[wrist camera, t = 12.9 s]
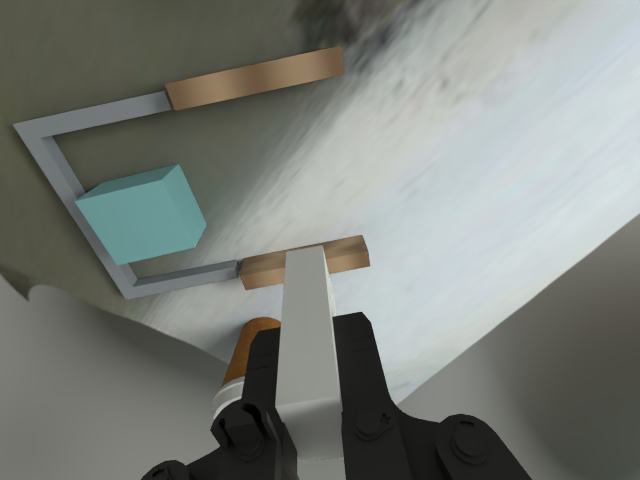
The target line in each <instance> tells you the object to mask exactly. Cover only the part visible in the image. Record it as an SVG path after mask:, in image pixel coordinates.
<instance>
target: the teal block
mask: <svg viewBox="0 0 640 480" xmlns="http://www.w3.org/2000/svg"><path fill="white" fill-rule="evenodd" d="M74 202H75V203H76V205H77V206H78V208H79V209H80V211H81V212H82V214H83V215H84V217H85V218H86V220H87V221H88V223H89V224H90V226H91V227H92V229H93V230H94V232H95V233H96V235H97V236H98V238H99V239H100V241H101V242H102V244H103V245H104V246H105V248H106V249H107V251H108V252H109V254H110V255H111V257H112V258H113V260H114V261H115V263H116V264H117V266H118V265H122V264H126V263H130V262H135V261H139V260H143V259H148V258H152V257H156V256H160V255H165V254H169V253H173V252H178V251H182V250H186V249H190V248H195V247H196V245H197V243H198V241H199V239H200V237H201V235H202V233H203V231H204V229H205V227H206V225H207V224H206V222H205V219H204V217H203V215H202V213H201V211H200V208H199V206H198V204H197V202H196V200H195V198H194V195H193V193H192V191H191V189H190V187H189V185H188V182H187V180H186V178H185V176H184V174H183V171H182V169H181V167H180V165H179V164H175V165H171V166H167V167H163V168H159V169H155V170H151V171H147V172H143V173H139V174H135V175H131V176H127V177H123V178H118V179H114V180H110V181H106V182H103V183H101V184H100V185H98V186H97V187H95V188H94V189H92V190H91V191H89V192H88V193H86V194H85V195H83V196H82V197H80V198H79V199H77V200H76V201H74Z"/></svg>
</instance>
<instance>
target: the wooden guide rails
mask: <svg viewBox="0 0 640 480" xmlns="http://www.w3.org/2000/svg"><path fill="white" fill-rule="evenodd" d="M344 74H345V72H344V64H343V57H342V49H341V46H336V47H331V48H327V49H322V50H318V51H313V52H308V53H304V54H299V55H295V56H290V57H286V58H281V59H276V60H272V61H267V62H263V63H258V64H254V65H249V66H244V67H240V68H235V69H231V70H226V71H222V72H217V73H212V74H208V75H203V76H199V77H194V78H189V79H185V80H180V81H176V82H172V83H167V84H165V86H166V89H167V91H168V94H169V96H170V99H171V101H172V104H173V106H174V109H175V111H177V110H182V109H186V108H191V107H196V106H200V105H205V104H210V103H214V102H219V101H223V100H228V99H233V98H237V97H242V96H247V95H251V94H256V93H261V92H265V91H270V90H275V89H279V88H284V87H289V86H293V85H298V84H302V83H307V82H312V81H316V80H321V79H326V78H330V77H335V76H340V75H344ZM320 245H323V250H324V254H325V259H326V263H327V268H328V272H329V274H332V273H338V272H343V271H348V270H353V269H358V268H363V267H369V266H370V261H369V253H368V249H367V246H366V244H365V241H364V238H363V236H362V235H360V236H355V237H350V238H345V239H340V240H334V241H329V242H324V243H319V244H314V245H309V246H304V247H299V248H294V249H289V250H284V251H279V252H274V253H269V254H264V255H258V256H253V257H248V258H244V262H243V266H242V270H241V274H240V277H241V280H242V282H243V285H244V287H245V290H250V289H255V288H260V287H265V286H270V285H276V284H281V283H284V277H285V263H286V252H289V251H294V250H299V249H305V248H310V247H315V246H320Z"/></svg>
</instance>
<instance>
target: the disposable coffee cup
mask: <svg viewBox="0 0 640 480" xmlns="http://www.w3.org/2000/svg"><path fill="white" fill-rule="evenodd" d="M278 327H281V322H280V321H278V320H275V319H272V318H257V319H253V320H251V321H249V322H248V323H247V324H246V325H245V326H244V327H243V329H242V332H241V335H240V337H239V340H238V343H237V346H236V348H235V351H234V354H233V356H232V359H231V362H230V365H229V367H228V370H227V373H226V376H225V378H224V381H223V384H222V387H221V389H220V390H219V392H218V393H217V395H216V396H215V397H214V399H213V402H212V413H213V415H214V419H215V418H216V417H217V415H218V414H219V413H220V412H221V410H222V409H223V408H225V407H226V406H227V405H229V404H230V403H231V402H233V401H236V400H239V399H241V396H242V390H243V385H244V379H245V373H246V367H247V361H248V355H249V349H250V344H251V342H252V341H253V339H254V337H255V336H256V334H257V332H258V331H261V330H266V329H272V328H278Z"/></svg>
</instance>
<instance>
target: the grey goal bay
mask: <svg viewBox="0 0 640 480" xmlns="http://www.w3.org/2000/svg"><path fill="white" fill-rule="evenodd" d="M172 109H174V106H173V104H172V101H171V99H170V96H169V94H168V91H167V90H165V91H161V92H156V93H151V94H147V95H142V96H138V97H133V98H128V99H124V100H119V101H115V102H110V103H105V104H101V105H96V106H92V107H87V108H82V109H78V110H73V111H69V112H64V113H60V114H55V115H50V116H46V117H41V118H37V119H32V120H27V121H23V122H19V123H15V124H13V126H14V128H15V129H16V131H17V132H18V134H19V135H20V137H21V138H22V140H23V141H24V143H25V144H26V146H27V148H28V149H29V151H30V152H31V154H32V155H33V157H34V158H35V160H36V161H37V163H38V165H39V166H40V168H41V169H42V171H43V172H44V174H45V175H46V177H47V178H48V180H49V182H50V183H51V185H52V186H53V188H54V189H55V191H56V192H57V194H58V195H59V197H60V199H61V200H62V202H63V203H64V205H65V206H66V208H67V209H68V211H69V212H70V214H71V215H72V217H73V219H74V220H75V222H76V223H77V225H78V226H79V228H80V229H81V231H82V232H83V234H84V236H85V237H86V239H87V240H88V242H89V243H90V245H91V246H92V248H93V249H94V251H95V253H96V254H97V256H98V257H99V259H100V260H101V262H102V263H103V265H104V266H105V268H106V270H107V271H108V273H109V274H110V276H111V277H112V279H113V280H114V282H115V283H116V285H117V287H118V288H119V290H120V291H121V293H122V294H123V296H124V297H125V299H132V298H137V297H142V296H147V295H152V294H157V293H162V292H167V291H172V290H178V289H183V288H188V287H193V286H198V285H203V284H208V283H213V282H219V281H224V280H229V279H234V278H238V276H239V272H240V269H239V266H238V264H237V261H236V260H233V261H228V262H223V263H218V264H213V265H208V266H203V267H198V268H193V269H188V270H182V271H177V272H172V273H167V274H162V275H157V276H152V277H147V278H142V279H137V277H136V276H135V274H134V272H133V271H132V269H131V267H130V266H129V264H128V263H126V264H122V265H118V266H117V264H116V263H115V261H114V260H113V258H112V257H111V255H110V254H109V252H108V251H107V249H106V248H105V246H104V245H103V244H102V242H101V241H100V239H99V238H98V236H97V235H96V233H95V232H94V230H93V229H92V227H91V226H90V224H89V223H88V221H87V220H86V218H85V217H84V215H83V214H82V212H81V211H80V209H79V208H78V206H77V205H76V203H75V202H74V201H76V200H77V199H79V198H80V197H82V196H83V195H85V194H86V192H85V190H84V189H83V187H82V185H81V184H80V182H79V180H78V179H77V177H76V175H75V174H74V172H73V170H72V169H71V167H70V165H69V164H68V162H67V160H66V159H65V157H64V155H63V154H62V152H61V150H60V149H59V147H58V145H57V144H56V142H55V140H54V139H53V137H52V135H57V134H61V133H66V132H71V131H75V130H80V129H85V128H89V127H94V126H98V125H103V124H108V123H112V122H117V121H122V120H126V119H131V118H136V117H140V116H145V115H150V114H154V113H159V112H163V111H168V110H172Z"/></svg>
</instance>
